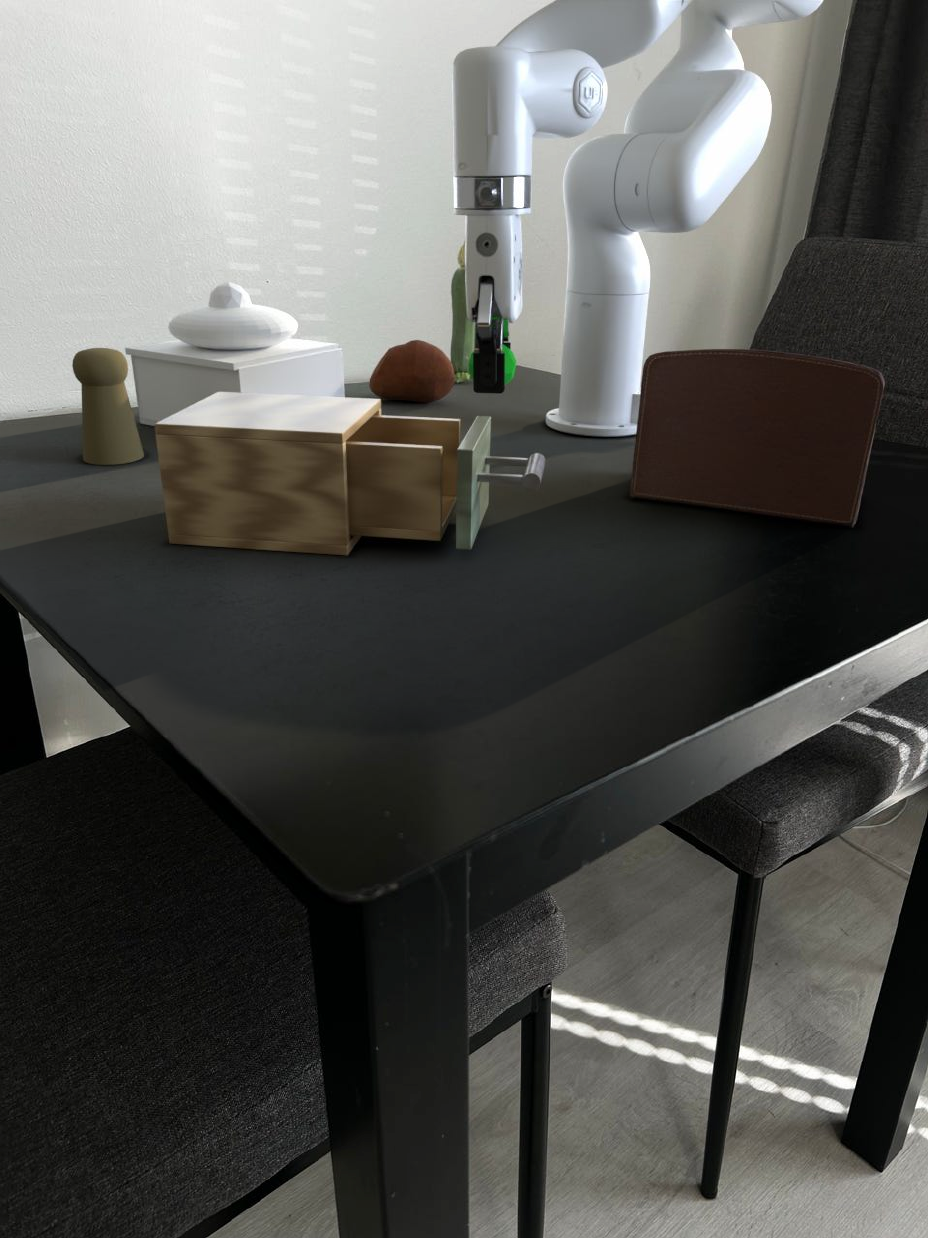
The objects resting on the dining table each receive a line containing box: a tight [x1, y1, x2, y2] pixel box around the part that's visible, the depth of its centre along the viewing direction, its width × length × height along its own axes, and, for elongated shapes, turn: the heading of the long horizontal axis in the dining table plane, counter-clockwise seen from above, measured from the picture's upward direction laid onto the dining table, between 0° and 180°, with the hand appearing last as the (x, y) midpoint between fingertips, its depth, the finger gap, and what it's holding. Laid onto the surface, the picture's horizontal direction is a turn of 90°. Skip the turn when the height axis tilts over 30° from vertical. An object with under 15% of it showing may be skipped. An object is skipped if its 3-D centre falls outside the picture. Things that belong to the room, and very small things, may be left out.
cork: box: [71, 347, 145, 466], centre depth 93 cm, size 6×6×11 cm
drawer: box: [345, 414, 546, 551], centre depth 74 cm, size 18×11×8 cm, turn 82°
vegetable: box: [449, 240, 475, 383], centre depth 133 cm, size 4×4×20 cm
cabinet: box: [153, 392, 382, 556], centre depth 75 cm, size 15×13×10 cm
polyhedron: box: [468, 344, 517, 386], centre depth 96 cm, size 5×5×5 cm
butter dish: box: [124, 281, 346, 427], centre depth 108 cm, size 18×18×16 cm
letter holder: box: [629, 348, 885, 528], centre depth 83 cm, size 10×20×14 cm, turn 68°
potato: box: [368, 339, 455, 403], centre depth 122 cm, size 8×12×8 cm, turn 88°
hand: (492, 384), depth 97 cm, fingers closed on polyhedron, 5 cm apart
